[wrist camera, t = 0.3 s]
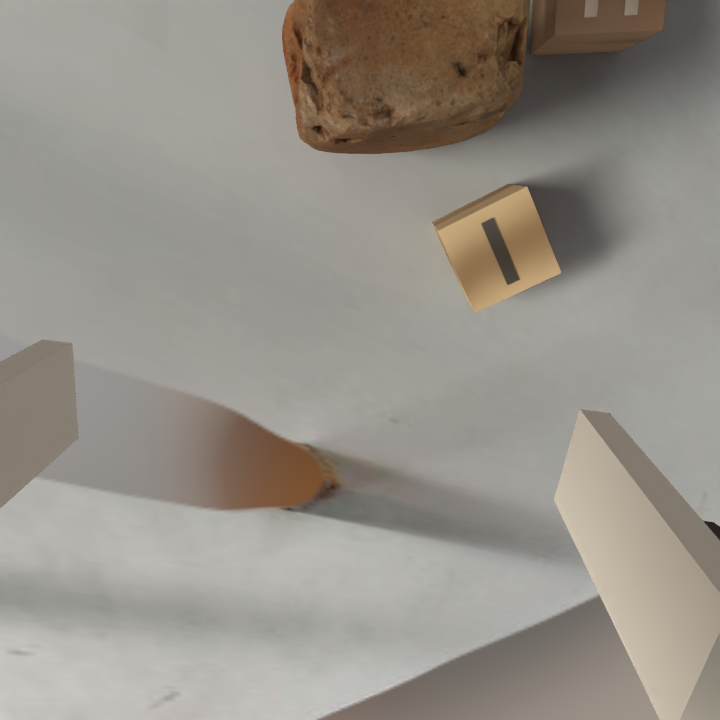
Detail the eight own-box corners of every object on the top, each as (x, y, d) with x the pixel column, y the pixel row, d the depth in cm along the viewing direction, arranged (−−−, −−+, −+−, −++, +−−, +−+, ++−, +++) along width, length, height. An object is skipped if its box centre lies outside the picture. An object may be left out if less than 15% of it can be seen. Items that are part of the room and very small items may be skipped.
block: (468, 25, 37) (549, -128, 18) (473, 145, 39) (549, 123, 20) (307, 47, 38) (222, -77, 19) (321, 163, 40) (259, 157, 21)
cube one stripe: (431, 222, 41) (438, 230, 35) (507, 184, 40) (527, 186, 34) (464, 293, 43) (475, 312, 37) (538, 258, 41) (561, 273, 36)
